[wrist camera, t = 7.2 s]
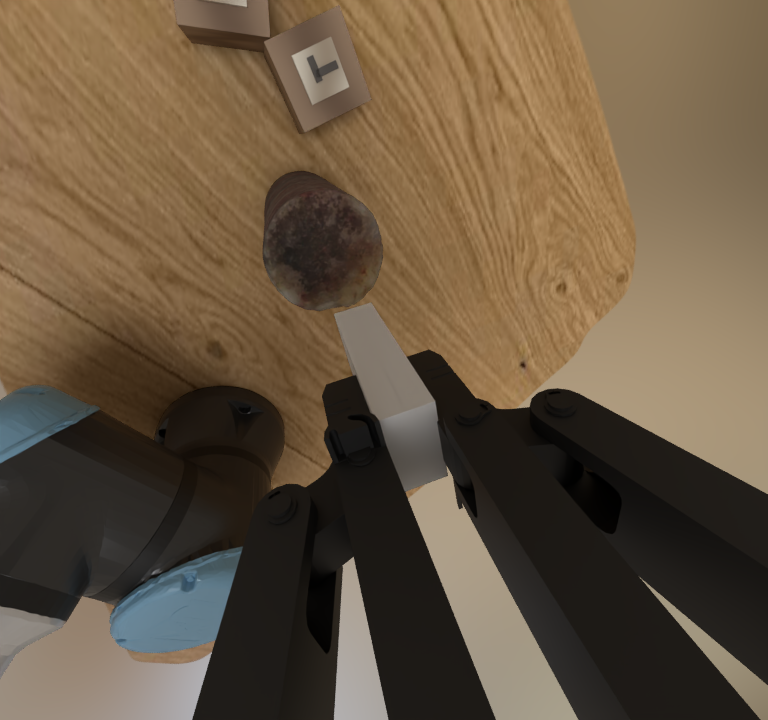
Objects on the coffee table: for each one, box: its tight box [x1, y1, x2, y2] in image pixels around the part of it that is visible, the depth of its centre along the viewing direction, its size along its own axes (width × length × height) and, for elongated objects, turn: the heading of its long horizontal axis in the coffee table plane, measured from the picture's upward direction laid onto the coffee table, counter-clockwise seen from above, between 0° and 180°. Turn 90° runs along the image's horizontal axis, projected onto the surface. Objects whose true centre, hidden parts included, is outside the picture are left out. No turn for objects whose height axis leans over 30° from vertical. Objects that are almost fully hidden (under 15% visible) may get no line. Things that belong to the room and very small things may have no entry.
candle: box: [263, 171, 383, 311], centre depth 30 cm, size 8×7×20 cm
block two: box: [264, 5, 372, 134], centre depth 31 cm, size 6×6×6 cm
